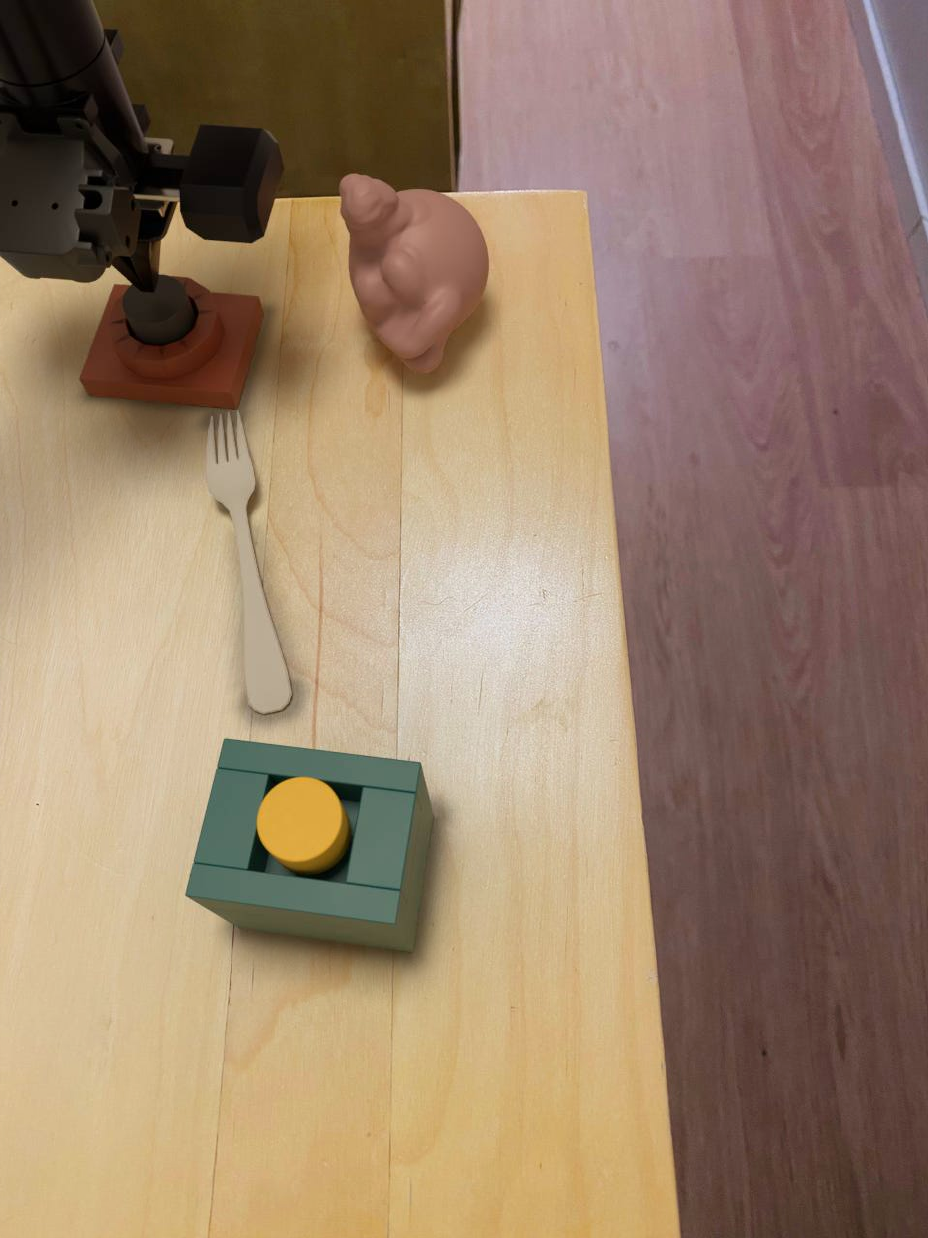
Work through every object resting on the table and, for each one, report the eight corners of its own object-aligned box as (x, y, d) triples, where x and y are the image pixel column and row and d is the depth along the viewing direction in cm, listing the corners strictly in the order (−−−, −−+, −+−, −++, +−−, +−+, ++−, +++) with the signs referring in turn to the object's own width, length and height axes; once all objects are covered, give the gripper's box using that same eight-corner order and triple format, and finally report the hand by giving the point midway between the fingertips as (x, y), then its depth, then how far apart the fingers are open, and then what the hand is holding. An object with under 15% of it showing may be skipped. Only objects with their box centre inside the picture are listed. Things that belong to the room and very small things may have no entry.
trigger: (262, 869, 43) (247, 856, 41) (280, 789, 45) (266, 771, 42) (343, 880, 43) (333, 867, 40) (358, 799, 45) (349, 781, 42)
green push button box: (238, 928, 50) (184, 896, 42) (268, 793, 53) (223, 737, 45) (413, 952, 50) (395, 925, 41) (434, 814, 52) (421, 762, 44)
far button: (124, 343, 63) (113, 320, 61) (142, 294, 64) (131, 271, 62) (186, 348, 62) (176, 325, 60) (201, 299, 64) (193, 276, 62)
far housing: (88, 395, 65) (67, 360, 62) (122, 301, 68) (104, 263, 65) (237, 409, 64) (223, 374, 61) (264, 313, 67) (252, 275, 64)
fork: (256, 727, 57) (246, 716, 55) (203, 418, 64) (191, 394, 61) (305, 716, 57) (297, 704, 55) (246, 409, 64) (237, 385, 61)
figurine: (359, 399, 64) (331, 259, 53) (357, 269, 69) (330, 116, 58) (496, 389, 64) (496, 247, 53) (484, 260, 69) (482, 105, 58)
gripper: (-214, 153, 44) (-40, 379, 58) (194, 183, 42) (270, 408, 57) (-119, -8, 49) (20, 238, 63) (252, 13, 47) (309, 261, 61)
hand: (150, 287), depth 61 cm, fingers closed
